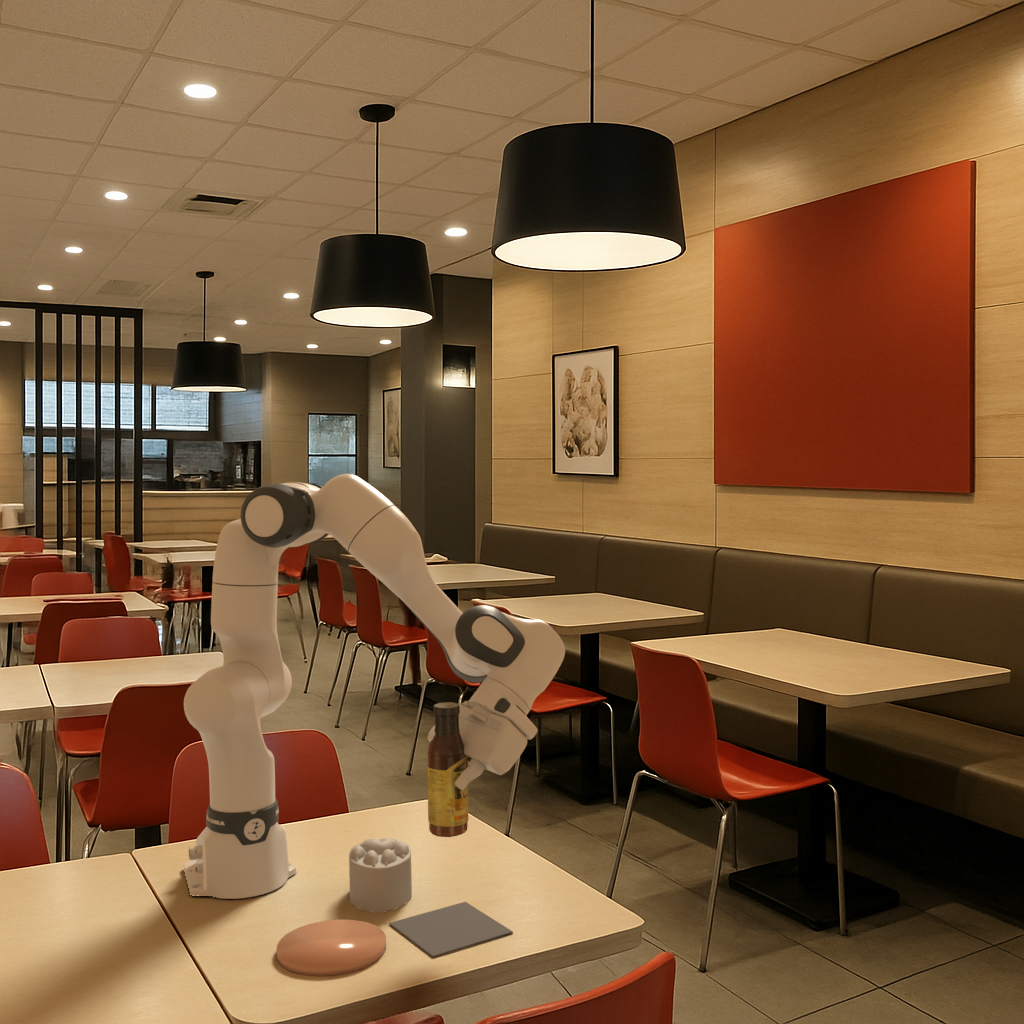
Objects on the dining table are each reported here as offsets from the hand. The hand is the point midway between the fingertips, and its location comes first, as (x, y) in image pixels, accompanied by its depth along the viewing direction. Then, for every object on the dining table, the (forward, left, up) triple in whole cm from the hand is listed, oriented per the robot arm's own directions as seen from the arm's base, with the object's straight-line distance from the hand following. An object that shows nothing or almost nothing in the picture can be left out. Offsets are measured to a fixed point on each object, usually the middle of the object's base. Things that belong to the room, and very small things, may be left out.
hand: (444, 781), depth 155 cm
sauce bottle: (0, +1, -8) cm, 8 cm away
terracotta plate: (-4, -17, -23) cm, 29 cm away
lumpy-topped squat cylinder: (-18, -2, -23) cm, 30 cm away
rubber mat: (0, +1, -23) cm, 23 cm away
